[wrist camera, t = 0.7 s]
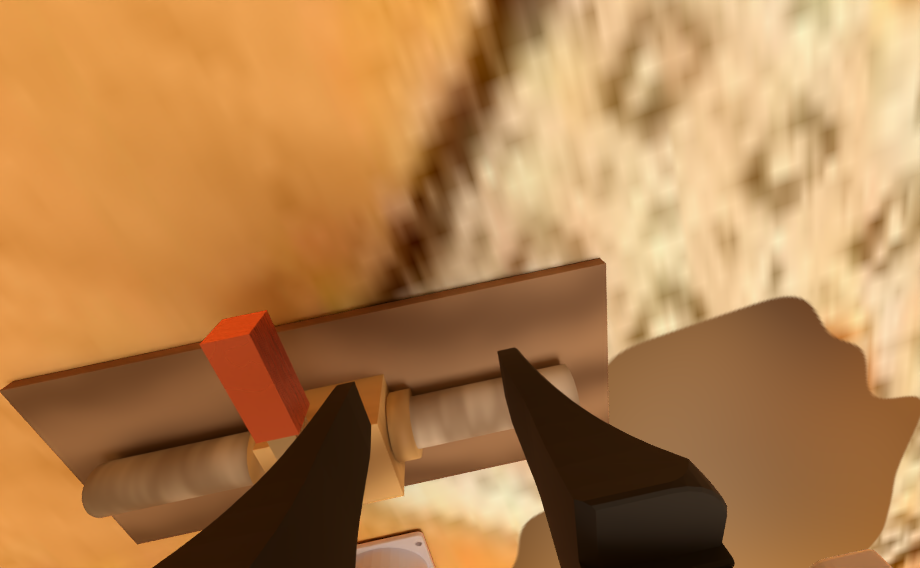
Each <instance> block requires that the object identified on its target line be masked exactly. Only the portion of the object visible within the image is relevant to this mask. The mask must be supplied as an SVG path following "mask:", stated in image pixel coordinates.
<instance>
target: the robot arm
mask: <svg viewBox="0 0 920 568" xmlns="http://www.w3.org/2000/svg"><path fill="white" fill-rule="evenodd" d="M497 353H498V359H499V365H500V370H501V376H502V382H503V388H504V394H505V399H506V402H507V406H508V410H509V414H510V417H511V421H512V424H513V427H514V429H515V432H516V434H517V437H518V440H519V442H520V445H521V447H522V450H523V452H524V455H525V457H526V460H527V462H528V465H529V467H530V470H531V472H532V475H533V477H534V480H535V483H536V485H537V488H538V491H539V494H540V497H541V500H542V504H543V507H544V511H545V514H546V517H547V521H548V524H549V528H550V531H551V534H552V538H553V541H554V545H555V548H556V552H557V555H558V559H559V562H560V566H561V568H733V566H734V560H733V558H732V556H731V555H730V553H729V552H728V550H727V549H726V548H725V546H724V545H723V543H722V539H723V534H724V529H725V523H726V518H727V505H726V503H725V502H724V500H723V498H722V496H721V495H720V494H719V493H718V491H717V490H716V489H715V487H714V486H713V485H712V484H711V482H710V481H709V480H708V479H707V478H706V477H705V476H704V475H703V474H702V473H701V472H700V471H699V469H698V468H697V467H695V465H694V464H693V463H692V462H691V461H690V460H689V459H687V458H684V457H681V456H679V455H676V454H674V453H671V452H669V451H666V450H663V449H660V448H658V447H655V446H653V445H651V444H648V443H646V442H644V441H642V440H639V439H637V438H635V437H633V436H631V435H629V434H627V433H625V432H623V431H621V430H619V429H617V428H615V427H613V426H612V425H610V424H608V423H606V422H604V421H603V420H601V419H599V418H598V417H596V416H594V415H593V414H591V413H590V412H588V411H587V410H585V409H584V408H582V407H581V406H579V405H578V404H577V403H575V402H574V401H572V400H571V399H570V398H568V397H567V396H566V395H565V394H563V393H562V392H561V391H560V390H558V389H557V388H556V387H555V386H554V385H553V384H551V383H550V382H549V381H548V380H547V379H546V378H545V377H544V376H543V375H542V374H540V373H539V372H538V371H537V370H536V369H535V368H534V367H533V366H532V365H531V364H530V363H529V361H528V360H527V359H526V358H525V357H524V356H523V355H522V354H521V352H520V351H519V350H518V349H517V348H515V347H514V348H509V349H504V350H499V351H497ZM370 452H371V423H370V421H369V418H368V416H367V413H366V410H365V408H364V405H363V402H362V400H361V397H360V395H359V392H358V389H357V387H356V384H355V381H354V382H349V383H345V384H340V385H337V386H336V387H335V388H334V389H333V391H332V392H331V393H330V395H329V396H328V397H327V399H326V400H325V402H324V403H323V404H322V406H321V407H320V408H319V410H318V411H317V412H316V414H315V415H314V416H313V418H312V419H311V420H310V422H309V423H308V424H307V426H306V427H305V428H304V429H303V431H302V432H301V433H300V434H299V436H298V437H297V438H296V439H295V440H294V442H293V443H292V444H291V445H290V446H289V448H288V449H287V450H286V451H285V452H284V454H283V455H282V456H281V457H280V458H279V459H278V460H277V462H276V463H275V464H274V465H273V466H272V467H271V468H270V469H269V470H268V471H267V472H266V473H265V474H264V475H263V476H262V477H261V478H260V479H259V480H258V481H257V482H256V483H255V484H254V485H253V486H252V487H251V488H250V489H249V490H248V491H247V492H246V493H245V494H244V495H243V496H242V497H240V498H239V499H238V500H237V501H236V502H235V503H234V504H233V505H232V506H231V507H229V508H228V509H227V510H226V511H225V512H224V513H223V514H222V515H220V516H219V517H218V518H217V519H216V520H214V521H213V522H212V523H211V524H210V525H208V526H207V527H206V528H205V529H204V530H202V531H201V532H200V533H198V534H197V535H196V536H195V537H193V538H192V539H191V540H190V541H188V542H187V543H186V544H184V545H183V546H182V547H180V548H179V549H178V550H176V551H175V552H174V553H172V554H171V555H169V556H168V557H167V558H165V559H164V560H162V561H161V562H160V563H158V564H157V565H155V566H154V567H153V568H435V565H434V562H433V560H432V557H431V554H430V551H429V549H428V546H427V543H426V540H425V538H424V535H423V533H421V532H412V533H408V534H403V535H398V536H394V537H389V538H385V539H380V540H376V541H371V542H367V543H362V544H357V538H358V529H359V521H360V515H361V509H362V503H363V497H364V491H365V485H366V479H367V473H368V467H369V460H370ZM810 568H892V567H891V566H890V565H889V564H888V563H887V562H886V561H885V560H884V559H883V558H882V557H881V556H880V555H879V554H878V553H877V552H876V551H874V550H870V549H865V550H861V551H856V552H852V553H847V554H843V555H838V556H834V557H829V558H825V559H822V560H820V561H817V562H816V563H814V564H813V565H811V566H810Z"/></svg>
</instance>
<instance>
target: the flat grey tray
mask: <svg viewBox="0 0 920 568" xmlns="http://www.w3.org/2000/svg"><path fill="white" fill-rule="evenodd" d="M275 329H276V331H277V334H278V336H279V338H280V340H281V342H282V344H283V347H284V349H285V351H286V353H287V355H288V357H289V360H290V362H291V364H292V366H293V368H294V371H295V373H296V375H297V377H298V379H299V381H300V384H301V386H302V388H303V390H304V392H305V394H306V397H307V399H308V401H309V403H310V405H309V408H308V411H307V414H306V417H307V420H308V422H310V420H311V419H312V418H313V416H314V415H315V414H316V412H317V411H318V410H319V408H320V407H321V406H322V404H323V403H324V402H325V400H326V399H327V397H328V396H329V395H330V393H331V392H332V391H333V389H334V388H335V387H336V386H337V385H340V384H345V383H349V382H354V381H355V384H356V387H357V389H358V392H359V395H360V397H361V400H362V402H363V405H364V408H365V410H366V413H367V416H368V418H369V421H370V423H371V452H370V460H369V467H368V473H367V479H366V485H365V491H364V497H363V503H362V505H364V504H368V503H373V502H377V501H382V500H386V499H391V498H396V497H400V496H404V486H407V485H412V484H417V483H421V482H426V481H430V480H435V479H440V478H444V477H449V476H453V475H458V474H462V473H467V472H472V471H476V470H481V469H485V468H490V467H495V466H499V465H504V464H508V463H513V462H518V461H522V460H526V457H525V455H524V452H523V450H522V447H521V445H520V442H519V440H518V437H517V434H516V432H515V429H514V427H513V424H512V421H511V417H510V414H509V410H508V406H507V402H506V399H505V394H504V388H503V382H502V376H501V370H500V365H499V359H498V353H497V351H499V350H504V349H509V348H514V347H515V348H517V349H518V350H519V351H520V352H521V354H522V355H523V356H524V357H525V358H526V359H527V360H528V361H529V363H530V364H531V365H532V366H533V367H534V368H535V369H536V370H537V371H538V372H539V373H540V374H542V375H543V376H544V377H545V378H546V379H547V380H548V381H549V382H550V383H551V384H553V385H554V386H555V387H556V388H557V389H558V390H560V391H561V392H562V393H563V394H565V395H566V396H567V397H568V398H570V399H571V400H572V401H574V402H575V403H577V404H578V405H579V406H581V407H582V408H584V409H585V410H587V411H588V412H590V413H591V414H593V415H594V416H596V417H598V418H599V419H601V420H603V421H604V422H606V423H608V424H609V404H608V403H609V401H608V347H607V295H606V263H605V262H604V261H602V260H601V259H600V258H599V259H594V260H589V261H584V262H580V263H575V264H570V265H565V266H561V267H556V268H551V269H546V270H541V271H537V272H532V273H527V274H522V275H518V276H513V277H508V278H503V279H499V280H494V281H489V282H484V283H480V284H475V285H470V286H465V287H461V288H456V289H451V290H446V291H442V292H437V293H432V294H427V295H422V296H418V297H413V298H408V299H403V300H399V301H394V302H389V303H384V304H380V305H375V306H370V307H365V308H361V309H356V310H351V311H346V312H342V313H337V314H332V315H327V316H323V317H318V318H313V319H308V320H304V321H299V322H294V323H289V324H284V325H280V326H275ZM200 343H201V342H199V343H194V344H189V345H185V346H180V347H175V348H170V349H165V350H161V351H156V352H151V353H146V354H142V355H137V356H132V357H127V358H123V359H118V360H113V361H108V362H104V363H99V364H94V365H89V366H85V367H80V368H75V369H70V370H66V371H61V372H56V373H51V374H47V375H42V376H37V377H32V378H27V379H23V380H18V381H13V382H12V383H10V384H9V385H7V386H6V387H4V388H3V389H1V390H0V392H1V394H2V395H3V396H4V397H5V398H6V399H7V400H8V401H9V402H10V404H11V405H12V406H13V407H14V408H15V409H16V410H17V411H18V412H19V414H20V415H21V416H22V417H23V418H24V419H25V420H26V421H27V422H28V424H29V425H30V426H31V427H32V428H33V429H34V430H35V431H36V432H37V434H38V435H39V436H40V437H41V438H42V439H43V440H44V441H45V442H46V444H47V445H48V446H49V447H50V448H51V449H52V450H53V451H54V452H55V454H56V455H57V456H58V457H59V458H60V459H61V460H62V461H63V462H64V464H65V465H66V466H67V467H68V468H69V469H70V470H71V471H72V472H73V474H74V475H75V476H76V477H77V478H78V479H79V480H80V481H81V482H82V484H83V485H84V487H83V491H82V502H83V506H84V508H85V510H86V512H87V513H88V514H89V515H91V516H93V517H96V518H102V517H107V516H112V517H113V518H114V519H115V520H116V521H117V522H118V523H119V525H120V526H121V527H122V528H123V529H124V530H125V531H126V532H127V533H128V535H129V536H130V537H131V538H132V539H133V540H134V541H135V542H136V543H137V544H141V543H146V542H150V541H155V540H159V539H164V538H169V537H173V536H178V535H182V534H187V533H191V532H196V531H201V530H204V529H205V528H206V527H207V526H208V525H210V524H211V523H212V522H213V521H214V520H216V519H217V518H218V517H219V516H220V515H222V514H223V513H224V512H225V511H226V510H227V509H228V508H229V507H231V506H232V505H233V504H234V503H235V502H236V501H237V500H238V499H239V498H240V497H242V496H243V495H244V494H245V493H246V492H247V491H248V490H249V489H250V488H251V487H252V486H253V485H254V484H255V483H256V482H257V481H258V480H259V479H260V478H261V477H262V476H263V475H264V474H265V473H266V472H267V471H268V470H269V469H270V468H271V467H272V466H273V465H274V464H275V463H276V462H277V459H276V457H275V455H274V454H273V452H272V450H271V448H270V446H269V445H268V443H267V441H266V442H261V443H257V444H256V443H255V441H254V439H253V437H252V436H251V434H250V432H249V430H248V429H247V427H246V425H245V423H244V422H243V420H242V418H241V416H240V415H239V413H238V411H237V409H236V408H235V406H234V404H233V402H232V401H231V399H230V397H229V395H228V394H227V392H226V390H225V388H224V387H223V385H222V383H221V381H220V380H219V378H218V376H217V374H216V373H215V371H214V369H213V367H212V366H211V364H210V362H209V360H208V359H207V357H206V355H205V353H204V352H203V350H202V348H201V346H200V345H199V344H200Z"/></svg>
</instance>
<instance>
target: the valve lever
mask: <svg viewBox="0 0 920 568" xmlns="http://www.w3.org/2000/svg"><path fill="white" fill-rule="evenodd" d="M199 345H200V346H201V348H202V350H203V352H204V353H205V355H206V357H207V359H208V360H209V362H210V364H211V366H212V367H213V369H214V371H215V373H216V374H217V376H218V378H219V380H220V381H221V383H222V385H223V387H224V388H225V390H226V392H227V394H228V395H229V397H230V399H231V401H232V402H233V404H234V406H235V408H236V409H237V411H238V413H239V415H240V416H241V418H242V420H243V422H244V423H245V425H246V427H247V429H248V430H249V432H250V434H251V436H252V437H253V439H254V441H255V443H256V444H257V443H261V442H266V441H267V443H268V445H269V446H270V448H271V450H272V452H273V454H274V455H275V457H276V459H277V460H278V459H279V458H280V457H281V456H282V455H283V454H284V452H285V451H286V450H287V449H288V448H289V446H290V445H291V444H292V443H293V442H294V440H295V439H296V438H297V437H298V436H299V434H300V433H301V432H302V431H303V429H304V428H305V427H306V426H307V424H308V423H309V422H308V420H307V417H306V414H307V411H308V408H309V405H310V403H309V401H308V399H307V397H306V394H305V392H304V390H303V388H302V386H301V384H300V381H299V379H298V377H297V375H296V373H295V371H294V368H293V366H292V364H291V362H290V360H289V357H288V355H287V353H286V351H285V349H284V347H283V344H282V342H281V340H280V338H279V336H278V334H277V331H276V329H275V327H274V325H273V323H272V320H271V318H270V316H269V314H268V312H267V310H265V311H260V312H256V313H251V314H246V315H241V316H236V317H232V318H227V319H222V320H221V322H220V323H219V324H218V325H217V326H216V327H215V328H214V329H213V330H212V331H211V332H210V334H209V335H208V336H207V337H206V338H205V339H204V340H203V341H202V342H201V343H200V344H199Z"/></svg>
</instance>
